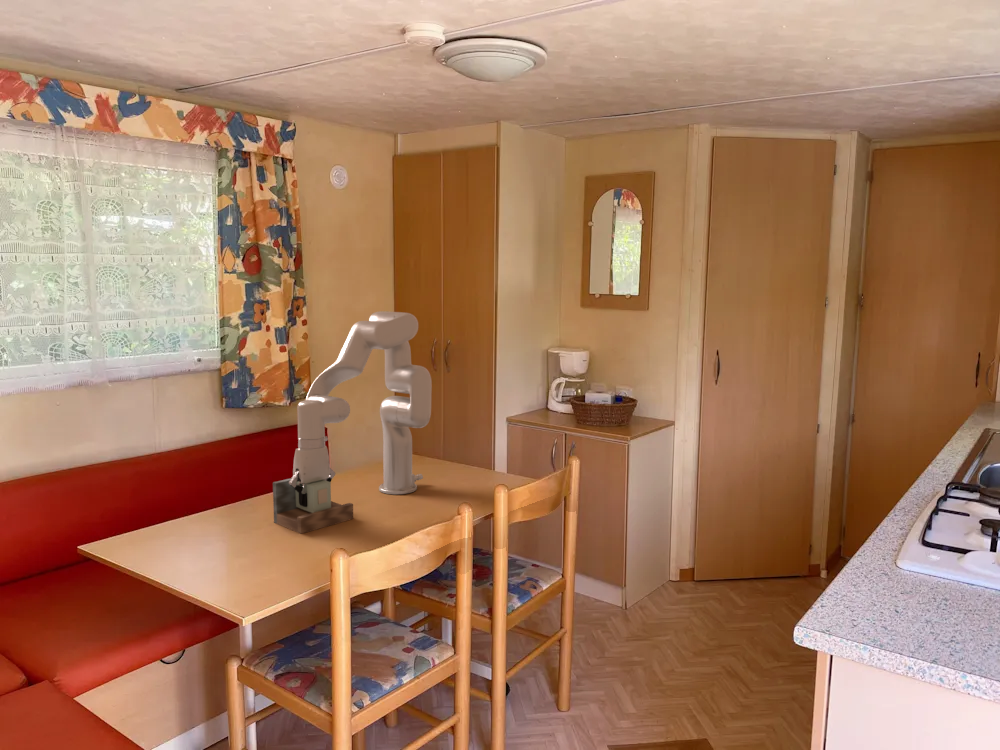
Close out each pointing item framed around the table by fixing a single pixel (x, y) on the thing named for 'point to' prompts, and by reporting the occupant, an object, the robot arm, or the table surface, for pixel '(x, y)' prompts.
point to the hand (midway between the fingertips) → (313, 502)
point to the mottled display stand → (304, 511)
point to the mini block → (316, 496)
